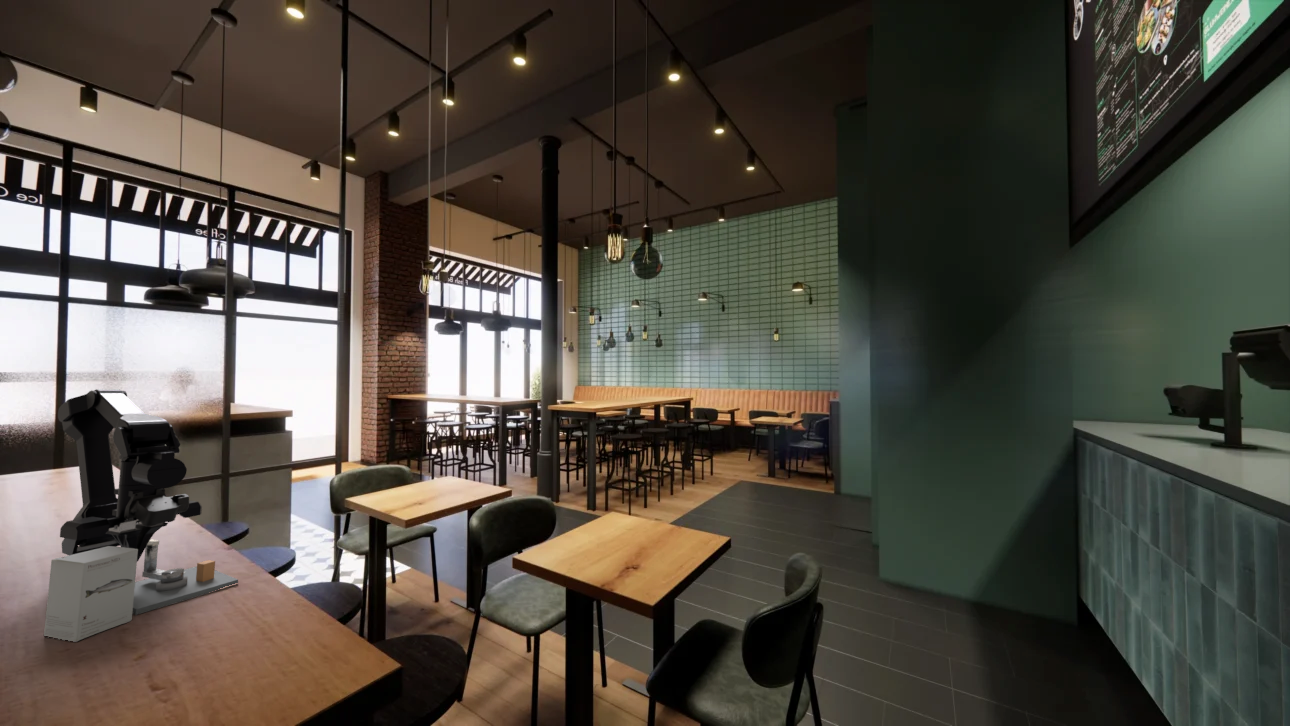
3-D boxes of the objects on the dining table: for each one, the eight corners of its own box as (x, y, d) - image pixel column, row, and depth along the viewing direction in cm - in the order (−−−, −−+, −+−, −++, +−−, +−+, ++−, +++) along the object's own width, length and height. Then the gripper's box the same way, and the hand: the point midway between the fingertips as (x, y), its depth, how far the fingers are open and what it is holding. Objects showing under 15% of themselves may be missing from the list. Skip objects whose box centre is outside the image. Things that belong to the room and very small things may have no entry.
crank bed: (102, 595, 91) (104, 571, 91) (202, 569, 104) (203, 549, 104) (135, 614, 84) (137, 589, 84) (237, 584, 97) (239, 562, 97)
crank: (187, 578, 94) (190, 543, 95) (167, 584, 91) (170, 548, 92) (155, 571, 97) (158, 537, 97) (135, 577, 94) (137, 542, 94)
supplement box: (75, 643, 74) (82, 563, 75) (41, 637, 76) (49, 558, 77) (133, 621, 82) (139, 548, 82) (102, 616, 83) (108, 544, 84)
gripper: (99, 496, 82) (92, 586, 81) (221, 477, 100) (216, 551, 99) (62, 491, 85) (54, 577, 84) (186, 473, 103) (181, 545, 102)
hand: (133, 561), depth 92 cm, fingers closed
